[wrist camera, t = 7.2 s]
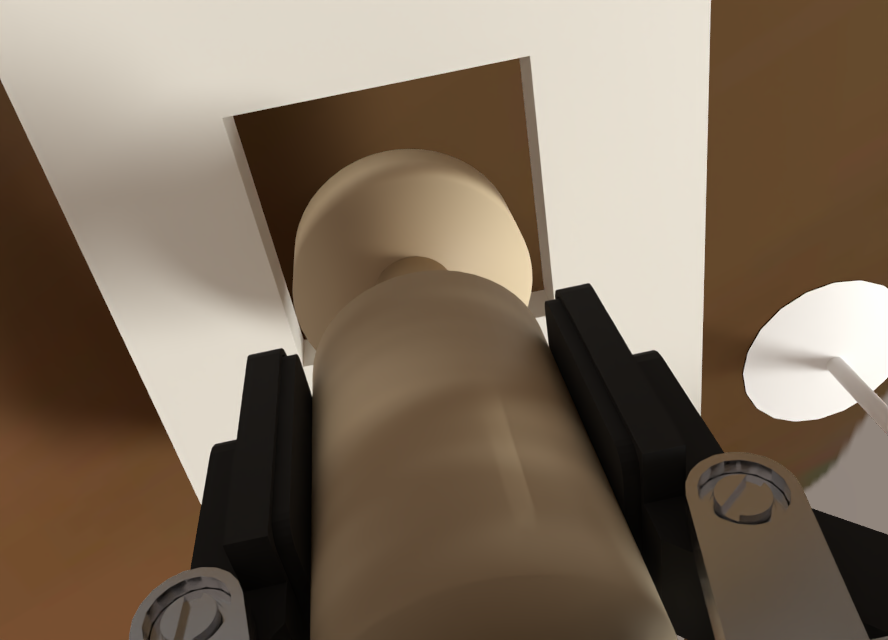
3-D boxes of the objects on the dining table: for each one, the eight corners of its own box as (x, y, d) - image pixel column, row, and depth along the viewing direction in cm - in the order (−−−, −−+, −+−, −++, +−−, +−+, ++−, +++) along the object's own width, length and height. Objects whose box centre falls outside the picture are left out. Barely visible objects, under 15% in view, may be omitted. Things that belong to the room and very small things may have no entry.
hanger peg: (502, 127, 16) (725, 496, 7) (526, 323, 19) (713, 768, 10) (267, 175, 16) (204, 611, 7) (325, 366, 18) (332, 856, 10)
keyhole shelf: (86, -91, 22) (-54, -36, 14) (569, -186, 23) (714, -186, 14) (279, 434, 33) (266, 642, 25) (603, 366, 34) (697, 548, 25)
